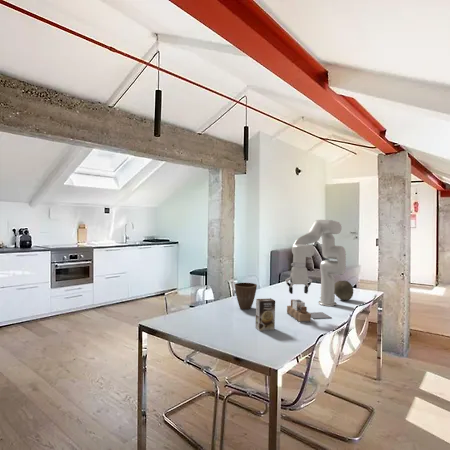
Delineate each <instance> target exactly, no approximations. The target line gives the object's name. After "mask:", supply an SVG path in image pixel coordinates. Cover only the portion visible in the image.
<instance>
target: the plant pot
mask: <svg viewBox="0 0 450 450" xmlns="http://www.w3.org/2000/svg"><path fill="white" fill-rule="evenodd" d="M257 286H258V285H257V284H256V283H253V282H237V283H235V284H234V290H235V296H236V300H237V303H238V306H239V309H240V310H245V311H246V310H251V309H252V307H253V303H254V302H255V301H254V300H255V296H256V293H257Z"/></svg>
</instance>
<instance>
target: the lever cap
mask: <svg viewBox="0 0 450 450" xmlns="http://www.w3.org/2000/svg"><path fill="white" fill-rule="evenodd" d="M292 300H293V307H292V308H293V309H294V310H296V311H301V307H302V306H305V307H306V303H305V302H304V301H303V300H301V299H292Z"/></svg>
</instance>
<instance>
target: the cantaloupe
mask: <svg viewBox="0 0 450 450" xmlns="http://www.w3.org/2000/svg"><path fill="white" fill-rule="evenodd" d="M335 296H336V297H337V298H338V299H339V300H342V301H344V300H346V301H348V300H351V299H352V298H353V296H354V288H353V285H352V284H351V282H349V281H347V280H337V281H335Z"/></svg>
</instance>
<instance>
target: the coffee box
mask: <svg viewBox="0 0 450 450" xmlns="http://www.w3.org/2000/svg"><path fill="white" fill-rule="evenodd" d="M275 320H276V300H275V299H273V298H271V297H270V298H256V299H255V325H254V326H255V328H256V330H258V331H259V332H264V331H275V322H276V321H275Z"/></svg>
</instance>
